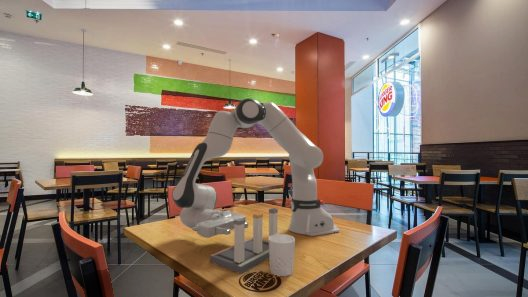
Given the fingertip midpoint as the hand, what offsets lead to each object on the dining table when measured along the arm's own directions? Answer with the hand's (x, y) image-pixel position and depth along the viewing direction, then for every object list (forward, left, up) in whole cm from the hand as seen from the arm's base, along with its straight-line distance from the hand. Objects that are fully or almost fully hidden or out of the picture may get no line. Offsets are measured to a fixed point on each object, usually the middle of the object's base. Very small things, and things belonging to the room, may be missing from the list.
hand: (238, 228), depth 92 cm
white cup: (-11, +17, -9) cm, 22 cm away
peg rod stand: (-3, +3, -9) cm, 10 cm away
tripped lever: (-6, +7, -6) cm, 11 cm away
